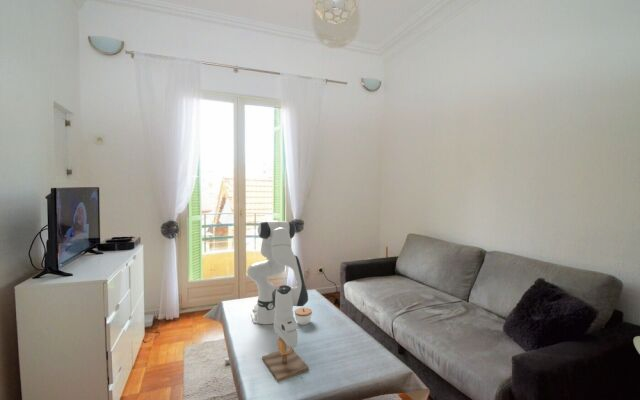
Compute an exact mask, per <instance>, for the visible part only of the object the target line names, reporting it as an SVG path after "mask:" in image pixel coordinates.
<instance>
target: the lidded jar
mask: <svg viewBox="0 0 640 400" xmlns="http://www.w3.org/2000/svg"><path fill="white" fill-rule="evenodd" d="M312 315H313V310H312V309H311V308H309V307H304V306H302V307H298V308H297V309H295V311H294V319H295V321H296V323H297V324H298V325H301V326H306V325H308V324H309V323H310V322H311V320H312Z"/></svg>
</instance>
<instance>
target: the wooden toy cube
mask: <svg viewBox="0 0 640 400" xmlns="http://www.w3.org/2000/svg"><path fill="white" fill-rule="evenodd" d="M286 346H287V345H286V343H285V342H284V341H283V340H282V339H281V338H280V339H279V338H278V339H277V351H279V352H280V353H281V355H285V354H288V353H291V352H292V349H293V347H292V348H290V351H288V352H287V351H286V350H285V347H286Z"/></svg>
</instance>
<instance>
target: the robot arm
mask: <svg viewBox="0 0 640 400" xmlns="http://www.w3.org/2000/svg"><path fill="white" fill-rule="evenodd" d="M257 233H258V237H259V238H261V239H262V241H261V246H260V247H261V248H260V253H261V256H262V257H264V258H266V259H265V260H262V261H257V262H253V263H252V264H250V265H249V266H248V267H247V270H246V272H247V276H248V278H249V279H250V280H251V281H252V282H254V283H255V285H256V286H257V291H258V292H257V294H258V296H257V297H258V299H257V302H256V304H254V308H252V311H251V312H250V317H251V319H252V322H253V324H260V325H272V324H273V331H274V332H275V333H276V335H278V339H280V338H281V339H282V340H283V341H284V342H285V343H286V345H287V346H286V347H285V350H286V351H287V352H288V351H290V348H292V349H293V348H295V347H297V345H298V331H297V329H299V324H298V322H297V321H296V318H295V316H294V309H293V308H294V307H304V306H305V305H306V304H307V303H308V301H309V292H308V289H307V286H306V283H305V278H304V274H303V270H302V266H301V262H300V259H299V257H298V256H297V255H295V253H294V252H293V249H292V240H291V239H293V238H294V237H295V235H296V225H295V224H294V223H293V222H292V221H288V220H287V221H285V220H263V221H262V220H261V222H260V223H259V225H258V227H257ZM286 267H288V268H290V269H291V270H292V271H293V273H294V277H295V282H296V286H290V285H283V284H282V285H279V286H278V287H276V286H275V284H274V283H273V282H272V281H271V282H270V281H269V279H270V278H272V277H275V276H276V277H277V276H278V275H281V274H283V273H284V272H285V269H286Z"/></svg>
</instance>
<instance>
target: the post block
mask: <svg viewBox="0 0 640 400" xmlns="http://www.w3.org/2000/svg"><path fill="white" fill-rule="evenodd" d="M261 359H262V362H263V363H264V364H265V365H266V366H265V367H267V369H268V370H269V371H270V373H271V374H272V376H273V377H274V379H275V381H276V382H277V383H279V382H281V381H284V380H287V379H289V378H292V377H295V376H297V375H300V374H303V373H306V372H308V371H310V369H309V368H310V366H308V365H307V363H306V362H305V361H304V360H303V359H302V358H301V357H300V356H299V355H298V354H297V352H296V351H295V350H294V349H293V348H292V352H291V353H288V354H285V355H281V353H280V352H279V351H278V350H277V351H275V352H271V353H268V354H265V355H262V356H261Z"/></svg>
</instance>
